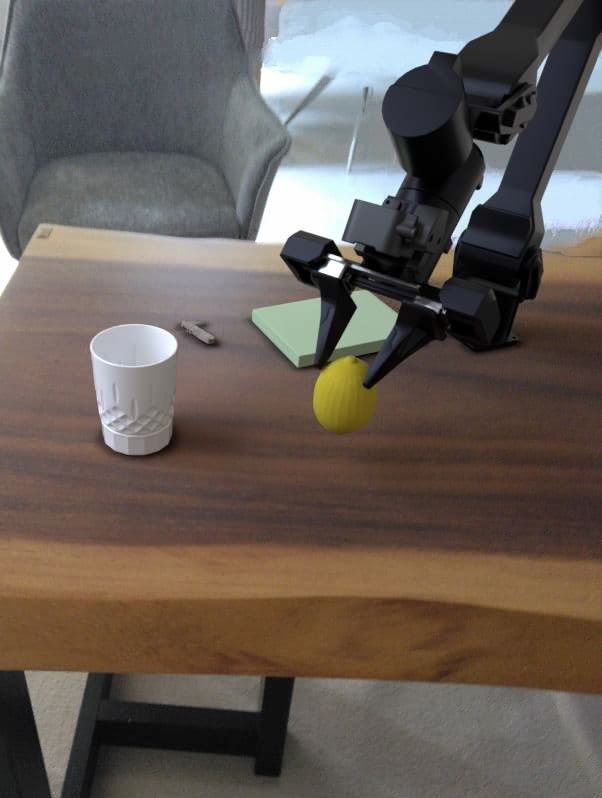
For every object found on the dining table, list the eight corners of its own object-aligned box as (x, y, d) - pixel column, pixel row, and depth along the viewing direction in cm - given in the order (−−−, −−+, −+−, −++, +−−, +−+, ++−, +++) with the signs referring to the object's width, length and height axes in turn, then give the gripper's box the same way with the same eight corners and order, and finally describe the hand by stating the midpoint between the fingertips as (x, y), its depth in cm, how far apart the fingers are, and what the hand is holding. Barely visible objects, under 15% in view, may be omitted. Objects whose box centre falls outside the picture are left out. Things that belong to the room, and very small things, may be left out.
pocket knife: (227, 336, 92) (207, 339, 91) (226, 342, 93) (206, 346, 91) (197, 316, 96) (177, 320, 94) (196, 323, 96) (177, 326, 94)
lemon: (368, 455, 70) (383, 377, 65) (305, 447, 71) (315, 369, 66) (370, 420, 74) (385, 344, 69) (311, 413, 75) (321, 337, 70)
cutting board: (364, 300, 101) (366, 289, 100) (418, 343, 93) (421, 331, 92) (251, 320, 96) (252, 309, 95) (297, 368, 88) (299, 356, 87)
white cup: (116, 468, 74) (110, 374, 67) (85, 425, 79) (77, 334, 72) (191, 447, 77) (193, 354, 70) (156, 406, 82) (155, 317, 75)
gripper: (302, 128, 63) (214, 306, 64) (529, 181, 55) (422, 385, 56) (340, 201, 73) (263, 354, 74) (537, 256, 65) (447, 427, 66)
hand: (340, 377), depth 67 cm, fingers closed on lemon, 4 cm apart
